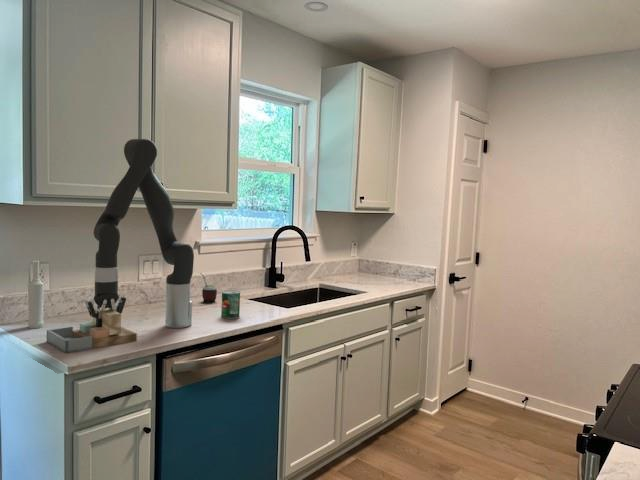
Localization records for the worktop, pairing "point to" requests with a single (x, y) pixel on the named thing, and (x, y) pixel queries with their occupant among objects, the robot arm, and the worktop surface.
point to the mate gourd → (209, 292)
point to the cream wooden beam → (110, 321)
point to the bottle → (35, 299)
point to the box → (68, 340)
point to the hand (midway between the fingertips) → (106, 327)
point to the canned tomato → (230, 304)
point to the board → (108, 338)
